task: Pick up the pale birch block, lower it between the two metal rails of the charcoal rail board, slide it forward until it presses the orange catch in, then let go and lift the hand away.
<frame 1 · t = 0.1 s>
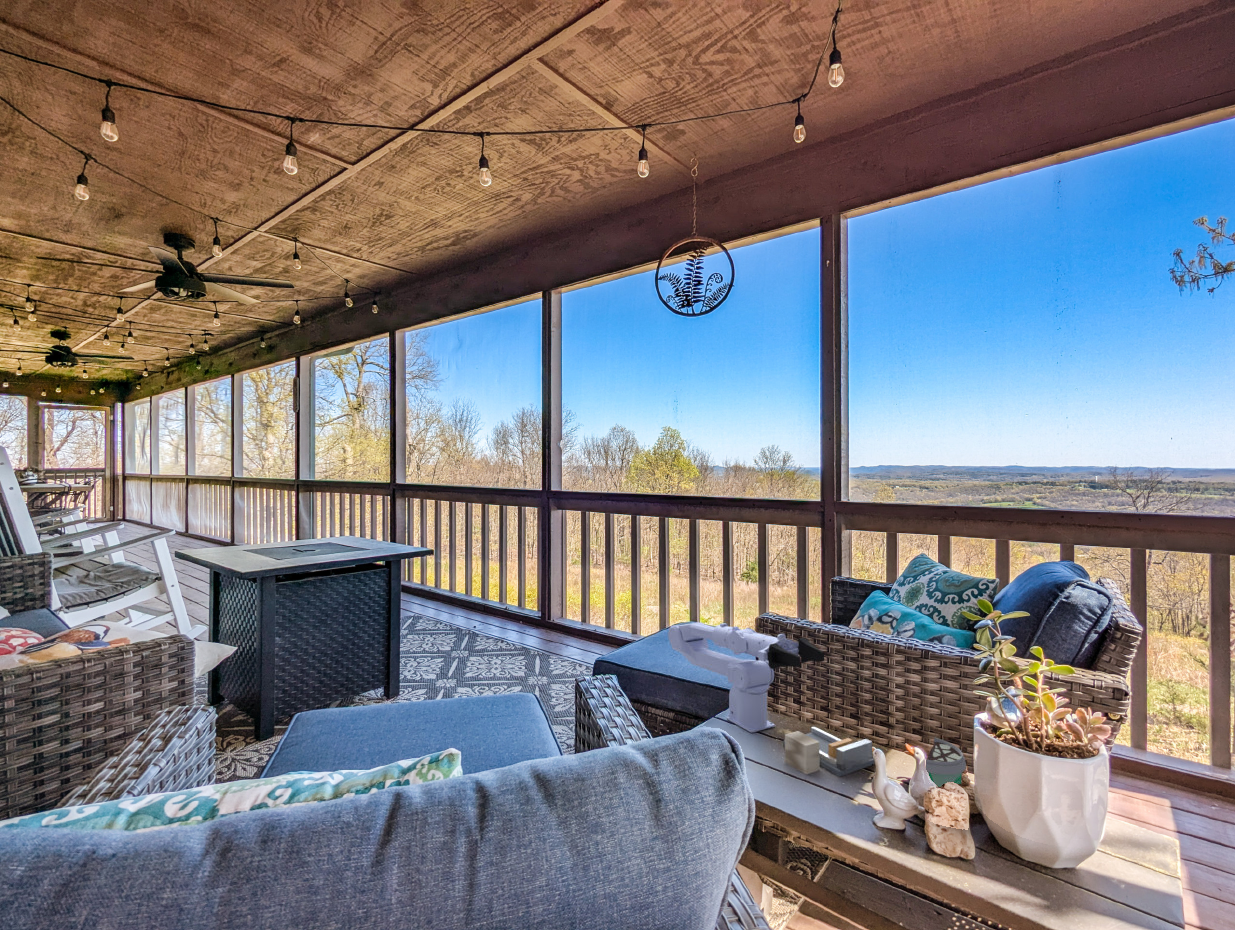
hand: (811, 659, 128), 22 cm above the table, tool horizontal, fingers open, 7 cm apart
food container: (947, 806, 108), on the table
birch block: (802, 766, 123), on the table
rail board: (827, 754, 128), on the table
catch: (840, 748, 125), point 3 cm above the table, slide at 0.0 cm
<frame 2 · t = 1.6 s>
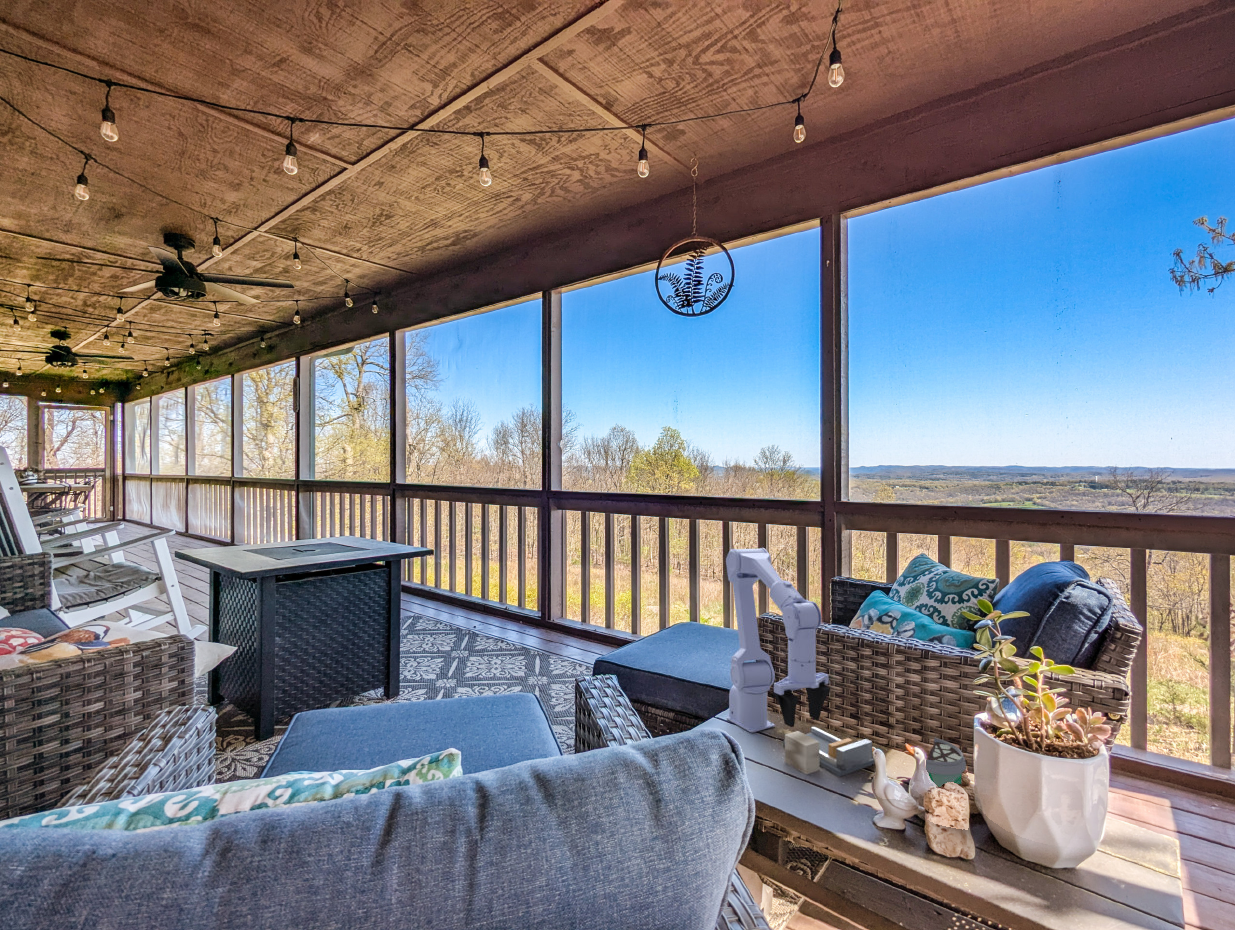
hand: (801, 721, 123), 9 cm above the table, tool pointing down, fingers open, 7 cm apart
nothing on the table moved.
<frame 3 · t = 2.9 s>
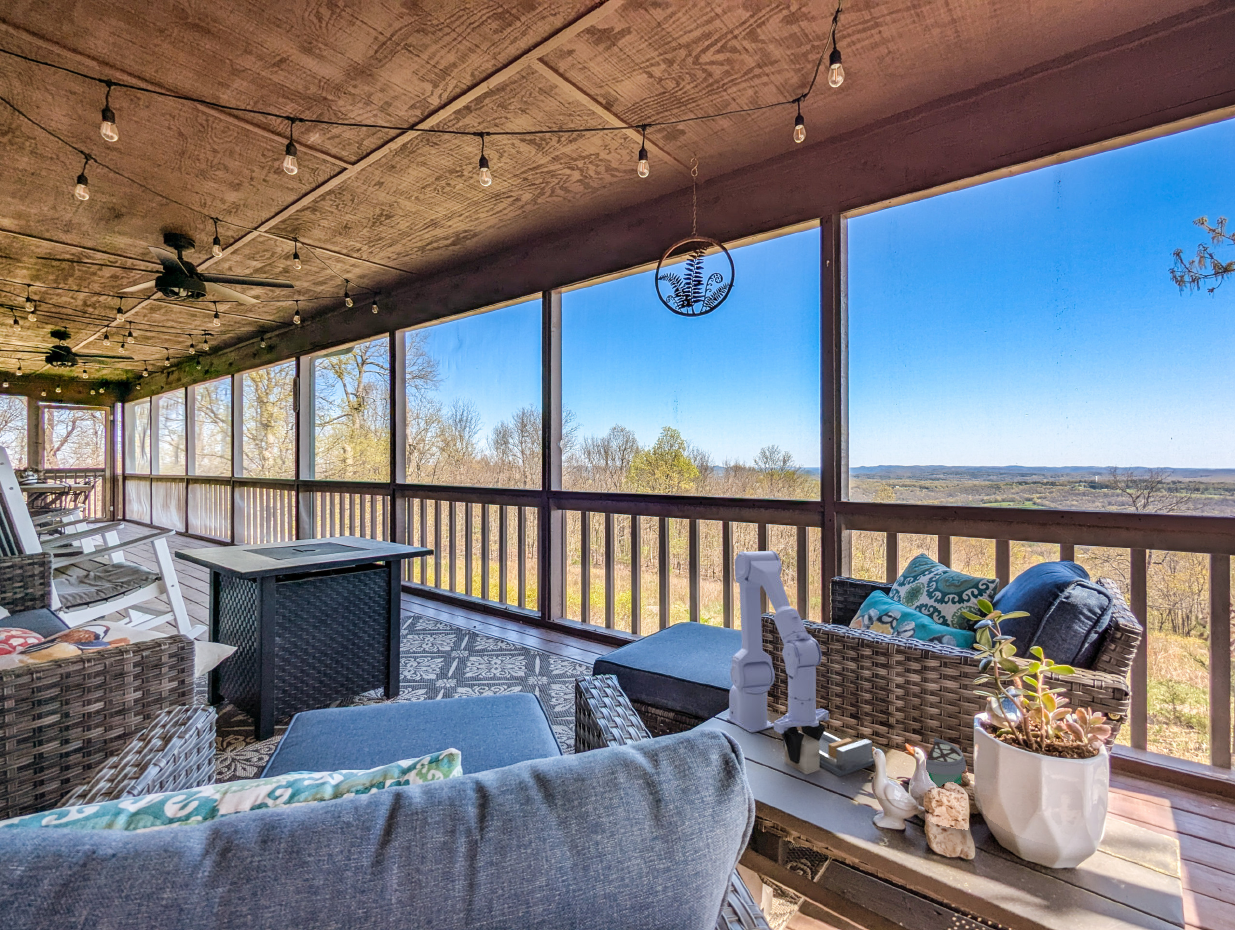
hand: (801, 759, 123), 1 cm above the table, tool pointing down, fingers closed on birch block, 4 cm apart
birch block: (802, 765, 123), on the table, touching gripper
everything else where it was.
when the fingers open (3 cm above the table, at t = 7.1 s): birch block stays where it is, resting on rail board.
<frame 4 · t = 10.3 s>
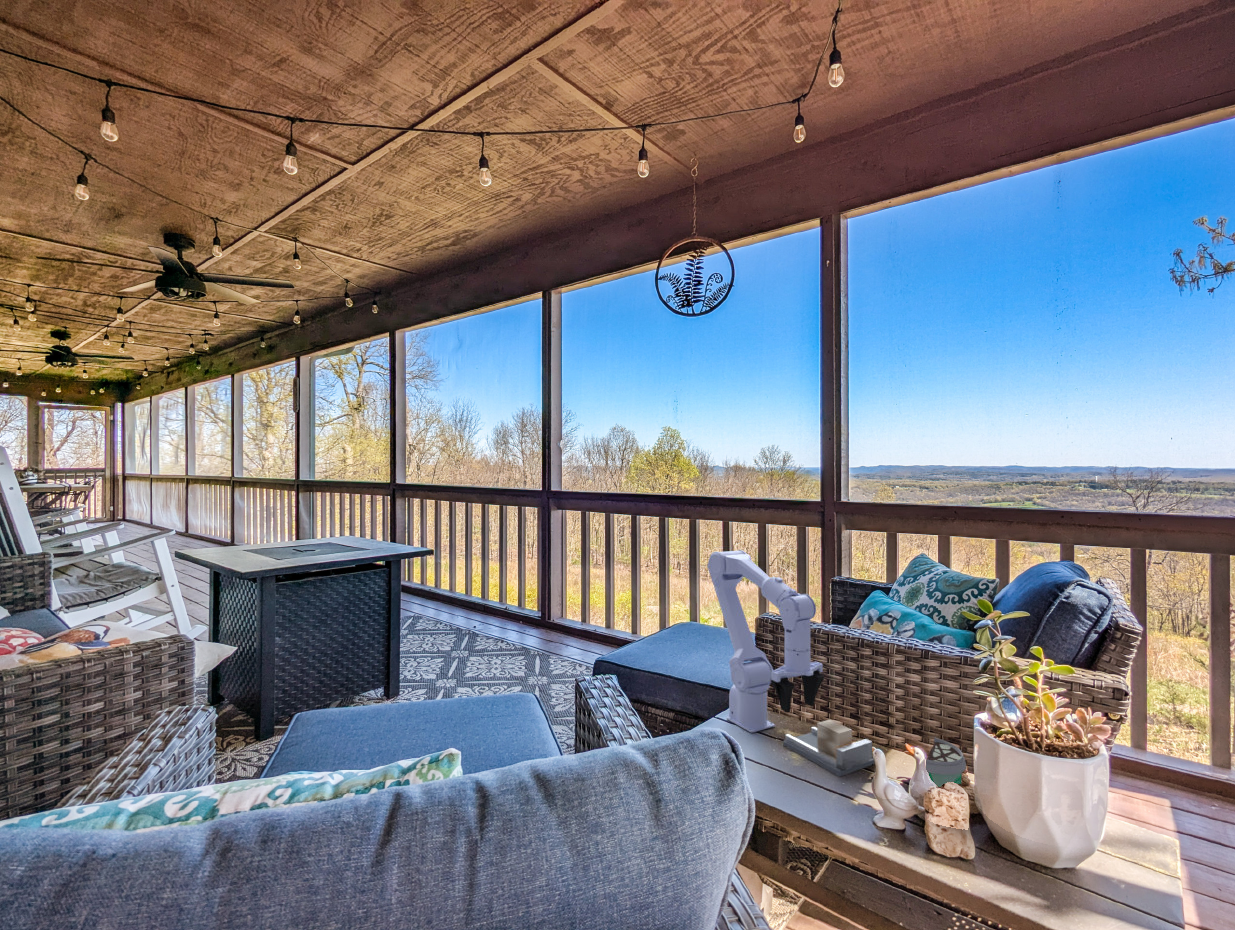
hand: (797, 707, 131), 9 cm above the table, tool pointing down, fingers open, 7 cm apart
birch block: (834, 753, 127), point 1 cm above the table, touching rail board
catch: (847, 752, 123), point 3 cm above the table, slide at 1.9 cm
everything else where it was.
at the end: catch slide at 1.9 cm; birch block 1.0 cm from the target spot on the rail board, point 1.0 cm above the rail board's base; birch block tilted 0° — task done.
